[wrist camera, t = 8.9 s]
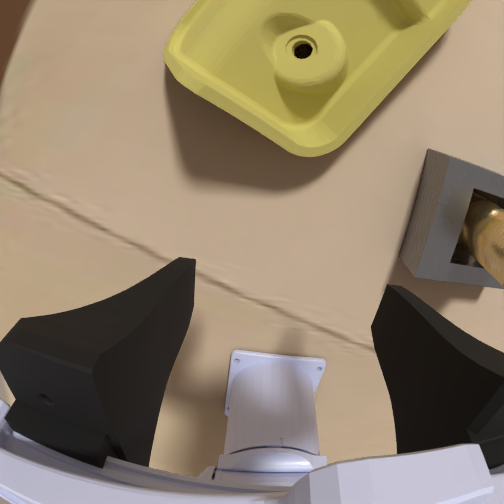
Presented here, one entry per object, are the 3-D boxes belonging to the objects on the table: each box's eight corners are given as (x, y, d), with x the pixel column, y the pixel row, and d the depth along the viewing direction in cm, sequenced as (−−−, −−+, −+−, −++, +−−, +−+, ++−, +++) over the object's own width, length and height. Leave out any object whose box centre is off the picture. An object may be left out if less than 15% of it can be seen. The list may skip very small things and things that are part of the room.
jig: (492, 271, 22) (510, 289, 19) (399, 256, 21) (414, 277, 19) (521, 183, 18) (544, 194, 15) (428, 148, 18) (450, 156, 15)
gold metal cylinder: (473, 248, 21) (522, 295, 14) (438, 233, 20) (488, 282, 14) (493, 202, 19) (550, 239, 13) (459, 184, 19) (518, 218, 12)
